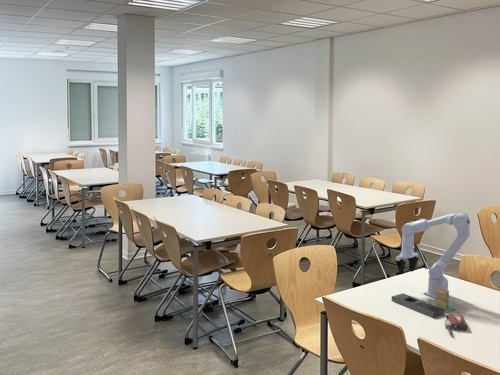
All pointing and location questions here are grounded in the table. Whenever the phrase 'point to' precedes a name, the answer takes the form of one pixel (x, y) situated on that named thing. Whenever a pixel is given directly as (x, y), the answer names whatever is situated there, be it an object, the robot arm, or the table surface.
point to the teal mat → (448, 308)
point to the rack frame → (418, 305)
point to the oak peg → (442, 298)
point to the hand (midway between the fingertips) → (406, 272)
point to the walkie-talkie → (455, 322)
